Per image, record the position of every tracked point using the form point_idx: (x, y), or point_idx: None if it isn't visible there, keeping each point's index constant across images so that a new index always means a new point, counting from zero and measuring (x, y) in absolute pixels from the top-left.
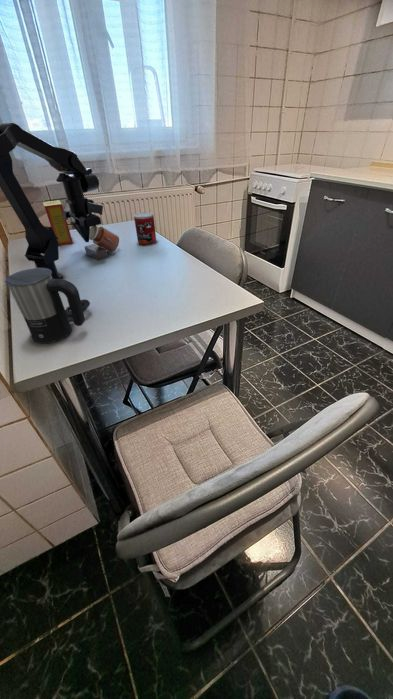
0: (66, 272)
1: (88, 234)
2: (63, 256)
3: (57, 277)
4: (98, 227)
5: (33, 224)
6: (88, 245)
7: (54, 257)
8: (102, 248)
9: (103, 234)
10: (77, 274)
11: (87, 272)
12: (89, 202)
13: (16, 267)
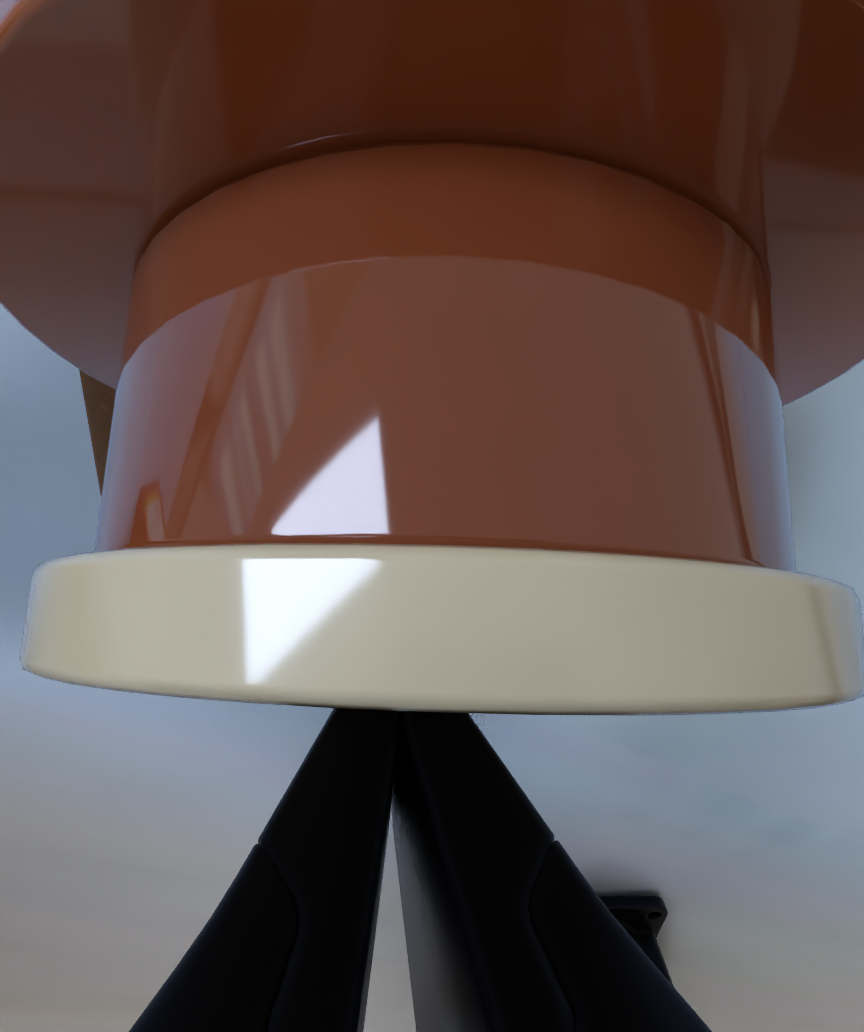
0: (571, 845)
1: (526, 823)
2: (8, 709)
3: (656, 941)
4: (14, 14)
5: None
6: (103, 447)
7: None
8: None
9: (862, 340)
10: (715, 809)
11: (777, 743)
12: None
13: (46, 1021)
